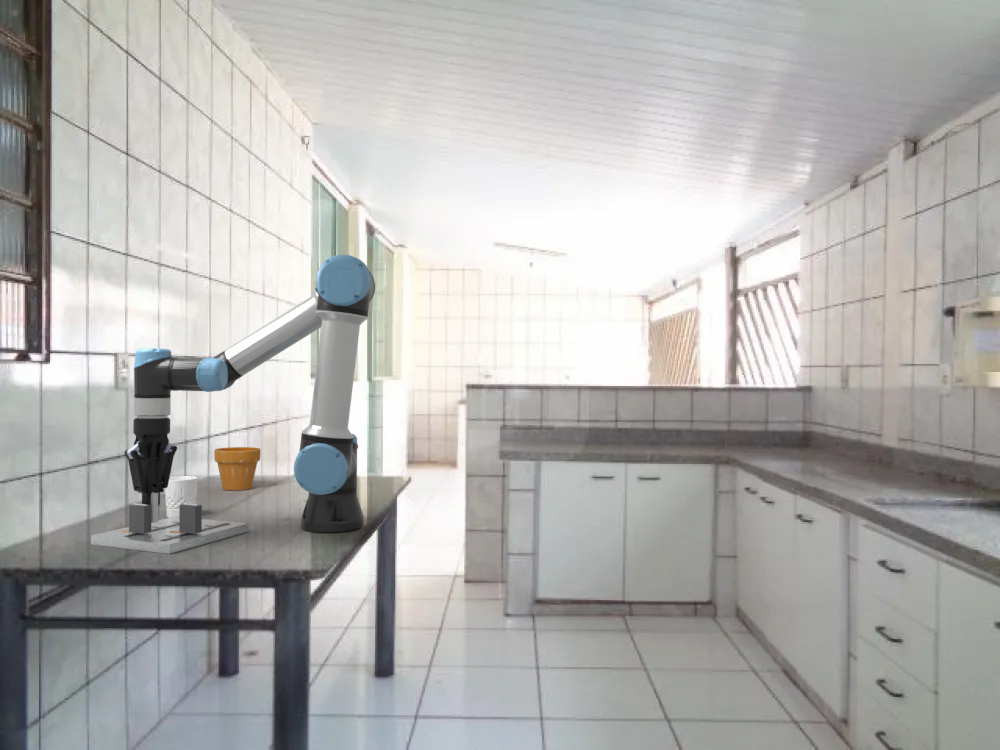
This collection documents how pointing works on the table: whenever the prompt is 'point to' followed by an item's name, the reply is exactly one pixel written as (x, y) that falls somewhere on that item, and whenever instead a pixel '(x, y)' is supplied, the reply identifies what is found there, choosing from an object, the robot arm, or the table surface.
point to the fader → (190, 518)
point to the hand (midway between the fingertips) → (150, 521)
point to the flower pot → (237, 466)
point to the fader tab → (140, 518)
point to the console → (169, 536)
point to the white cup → (180, 493)
